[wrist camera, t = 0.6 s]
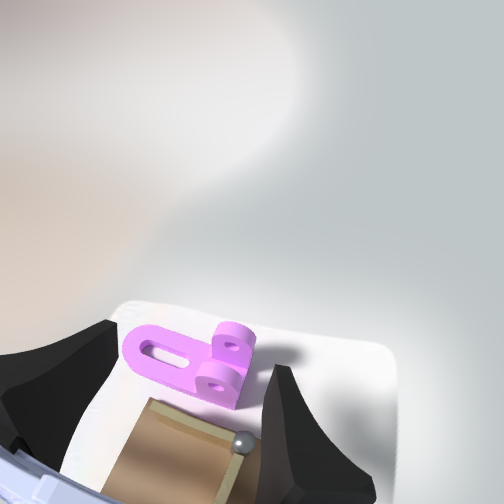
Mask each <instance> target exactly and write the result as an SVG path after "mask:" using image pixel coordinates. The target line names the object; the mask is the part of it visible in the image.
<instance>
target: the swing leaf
mask: <svg viewBox="0 0 504 504" xmlns="http://www.w3.org/2000/svg"><path fill="white" fill-rule="evenodd" d="M243 458H244V456H241V455H238V454H235V453H234V454H233V457H232V459H231V462H230V464H229V467H228V469H227V471H226V474H225V476H224V479H223V481H222V484H221V486H220V488H219V491H218V493H217V496H216V498H215V500H214V503H213V504H225V503H226V501H227V499H228V496H229V494H230V491H231V489H232V486H233V484H234V481H235V479H236V476H237V474H238V471H239V469H240V466H241V464H242V461H243Z"/></svg>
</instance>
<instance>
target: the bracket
mask: <svg viewBox="0 0 504 504" xmlns="http://www.w3.org/2000/svg"><path fill="white" fill-rule="evenodd" d="M255 342H256V336H255V334H254V333H253V332H252V331H251V330H250V329H249V328H247V327H246V326H244V325H242V324H239V323H236V322H222V323H220V324H219V325H218V326H217V328H216V331H215V333H214V335H213V338H212V345H209V344H206V343H204V342H201V341H198V340H195V339H192V338H189V337H186V336H184V335H181V334H178V333H175V332H173V331H170V330H167V329H165V328H162V327H159V326H156V325H143V326H139V327H137V328H135V329H133V330H132V331H131V332H129V333H128V335H127V336H126V337H125V339H124V341H123V345H122V353H123V356H124V359H125V361H126V362H127V364H128V366H129V367H130V368H131V369H132V370H133V371H134V372H135V373H137V374H139V375H141V376H144V377H146V378H148V379H150V380H153V381H155V382H158V383H160V384H162V385H165V386H167V387H170V388H172V389H175V390H177V391H180V392H183V393H185V394H188V395H190V396H193V397H196V398H199V399H202V400H204V401H207V402H210V403H213V404H216V405H219V406H222V407H225V408H228V409H231V410H235V407H236V404H237V401H238V398H239V395H240V392H241V389H242V387H243V384H244V381H245V378H246V375H247V372H248V369H249V366H250V363H251V359H252V355H253V351H254V346H255ZM149 345H152V346H155V347H157V348H160V349H162V350H165V351H168V352H170V353H173V354H175V355H178V356H181V357H183V358H186V359H188V360H189V361H190V363H189V365H188V366H187V367H186V368H183V369H179V368H176V367H173V366H171V365H168V364H166V363H163V362H161V361H158V360H156V359H153V358H151V357H149V356H146V355H144V354H142V350H143V348H144V347H146V346H149Z"/></svg>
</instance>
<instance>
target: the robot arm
mask: <svg viewBox="0 0 504 504" xmlns="http://www.w3.org/2000/svg"><path fill="white" fill-rule="evenodd" d="M118 357H119V355H118V335H117V323H115V322H112V321H109V320H106V319H105V320H103V321H101V322H99V323H96V324H95V325H92V326H90V327H88V328H87V329H85V330H82V331H80V332H78V333H76V334H74V335H72V336H70V337H68V338H65V339H62V340H60V341H58V342H55V343H53V344H50V345H47V346H44V347H41V348H38V349H34V350H30V351H25V352H20V353H15V354H7V355H0V498H1V499H3V500H4V501H5V502H6V503H8V504H125V503H123V502H120V501H117V500H115V499H113V498H110V497H108V496H105V495H103V494H101V493H98V492H96V491H94V490H92V489H90V488H87V487H85V486H83V485H81V484H79V483H77V482H75V481H73V480H71V479H69V478H67V477H65V476H64V475H62V474H60V473H59V472H60V469H61V466H62V462H63V459H64V456H65V454H66V451H67V449H68V446H69V443H70V441H71V439H72V436H73V434H74V432H75V430H76V427H77V425H78V423H79V421H80V419H81V417H82V415H83V413H84V412H85V410H86V408H87V407H88V405H89V404H90V402H91V401H92V399H93V398H94V396H95V395H96V394H97V392H98V391H99V389H100V388H101V386H102V385H103V384H104V382H105V381H106V379H107V378H108V376H109V375H110V373H111V371H112V369H113V367H114V365H115V363H116V361H117V359H118ZM376 498H377V497H376V491H375V487H374V483H373V481H372V477H371V476H370V475H368V474H367V473H366V472H364V471H363V470H361V469H360V468H359V467H357V466H356V465H355V464H354V463H352V462H351V461H350V460H349V459H348V458H347V457H346V456H345V455H344V454H343V453H342V452H341V451H340V450H339V449H338V448H337V447H336V446H335V445H334V444H333V443H332V442H331V441H330V439H329V438H328V437H327V436H326V434H325V433H324V432H323V430H322V429H321V428H320V426H319V425H318V423H317V422H316V420H315V419H314V417H313V415H312V414H311V412H310V410H309V408H308V407H307V405H306V403H305V401H304V399H303V397H302V395H301V393H300V390H299V388H298V386H297V384H296V381H295V379H294V376H293V373H292V371H291V368H290V367H288V366H282V365H277V364H275V367H274V370H273V373H272V376H271V379H270V382H269V385H268V387H267V390H266V393H265V396H264V403H263V410H262V433H261V466H260V473H259V480H258V487H257V493H256V499H255V504H374V502H375V501H376Z"/></svg>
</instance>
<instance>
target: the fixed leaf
mask: <svg viewBox="0 0 504 504" xmlns="http://www.w3.org/2000/svg"><path fill="white" fill-rule="evenodd" d="M149 409H150V411H151V412H152V414H153V415H154V416H155V418H156V419H157V421H159V422H161V423H163V424H165V425H168V426H170V427H172V428H174V429H177V430H179V431H181V432H184V433H186V434H188V435H191V436H193V437H196V438H198V439H201V440H204V441H206V442H209V443H211V444H214V445H217V446H220V447H222V448H225V449H228V450H230V452H231V454H232V455H233V454H234V453H235V454H238V455H241V456H244V458H245V457H247V456H248V455H249V454H250V452H251V451H252V450H253V448H254V447H255V445H256V438H255V436H254V435H253V434H252V433H251V432H248V431H239V432H237V433H233V432H230V431H227V430H224V429H221V428H219V427H216V426H213V425H211V424H208V423H205V422H203V421H200V420H198V419H195V418H193V417H190V416H188V415H185V414H183V413H181V412H178V411H176V410H174V409H171V408H169V407H167V406H165V405H163V404H160V403H158V402H156V401H154V400H153V401H152V403H151V405H150V407H149Z"/></svg>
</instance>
